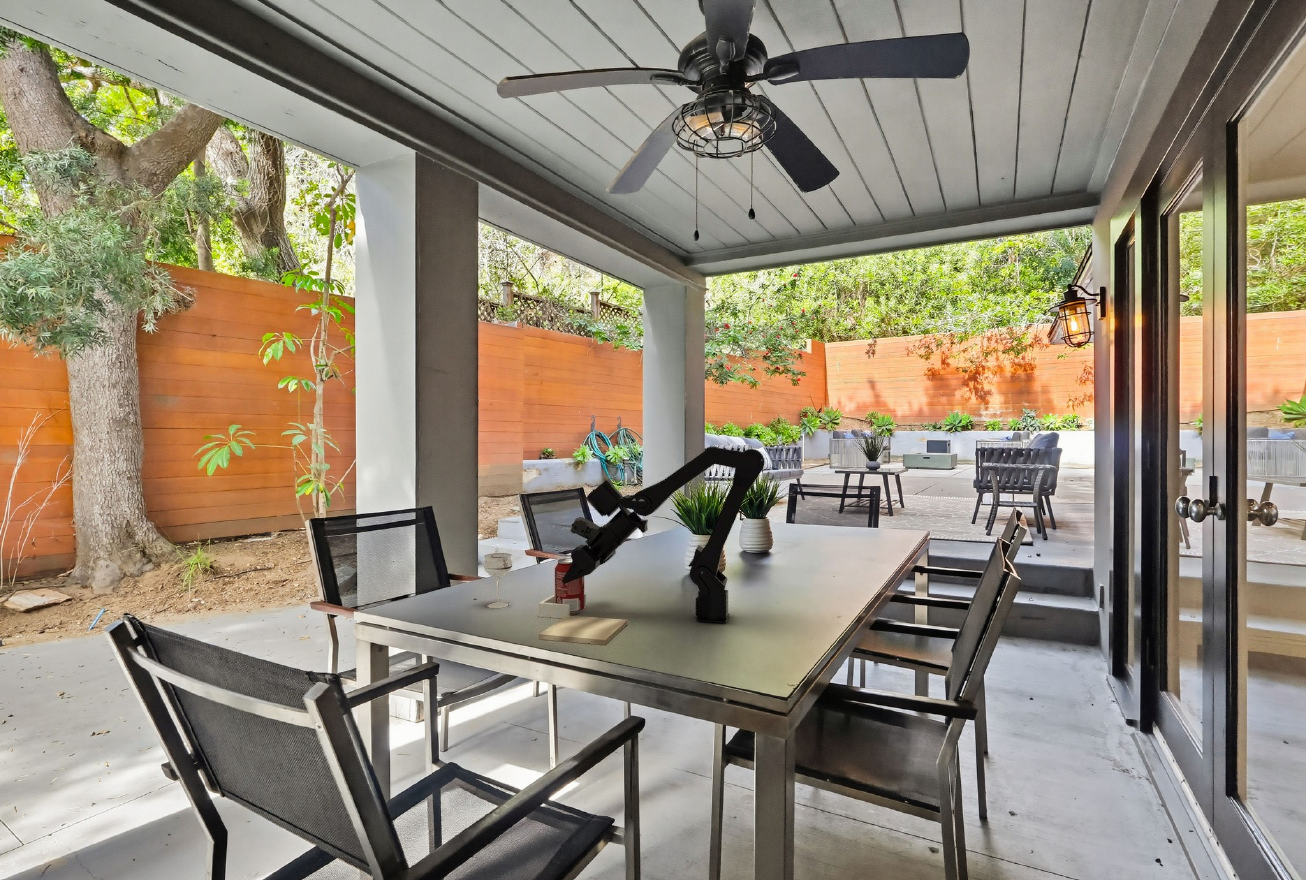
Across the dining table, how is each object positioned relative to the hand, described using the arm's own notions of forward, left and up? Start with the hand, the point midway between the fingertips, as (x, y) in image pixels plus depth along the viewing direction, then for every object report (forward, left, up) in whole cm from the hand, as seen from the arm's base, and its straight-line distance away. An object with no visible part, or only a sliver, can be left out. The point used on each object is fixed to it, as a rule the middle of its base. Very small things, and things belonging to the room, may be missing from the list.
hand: (569, 577), depth 146 cm
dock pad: (-9, +13, -8) cm, 18 cm away
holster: (+2, 0, -8) cm, 8 cm away
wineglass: (+19, -1, -8) cm, 21 cm away
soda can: (0, 0, -8) cm, 8 cm away
